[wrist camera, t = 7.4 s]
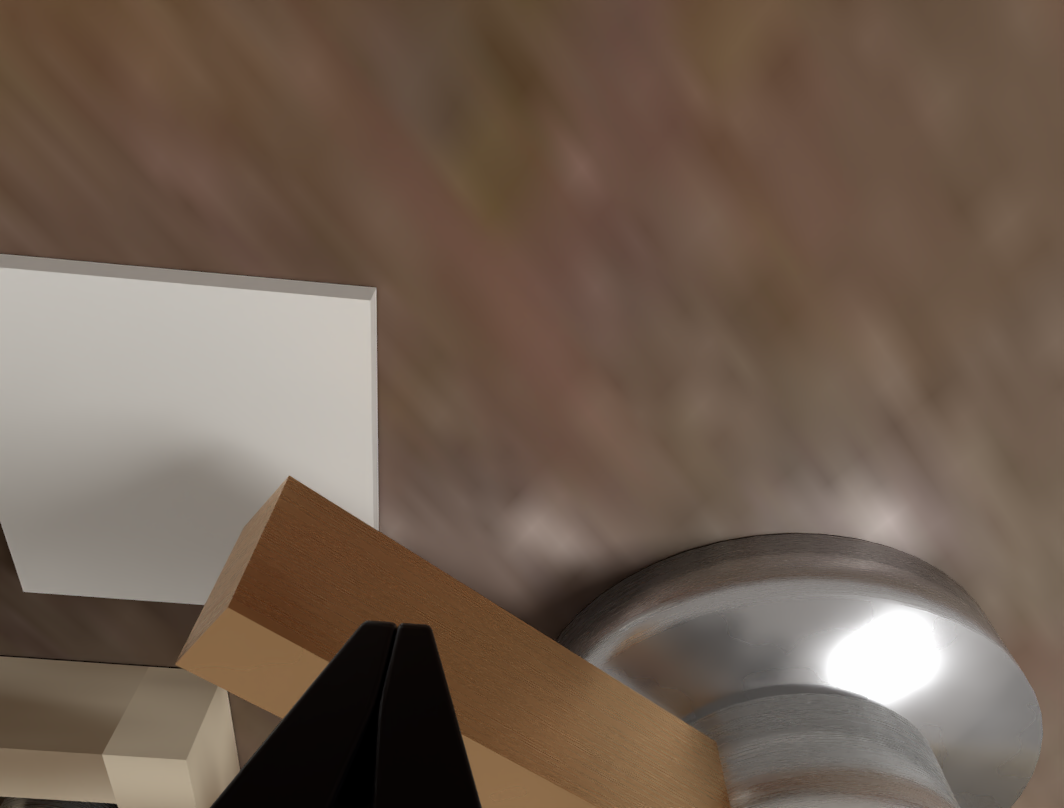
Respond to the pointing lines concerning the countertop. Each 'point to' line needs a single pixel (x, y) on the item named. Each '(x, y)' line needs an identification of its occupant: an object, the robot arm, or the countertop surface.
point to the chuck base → (823, 646)
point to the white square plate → (172, 418)
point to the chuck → (533, 686)
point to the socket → (113, 734)
